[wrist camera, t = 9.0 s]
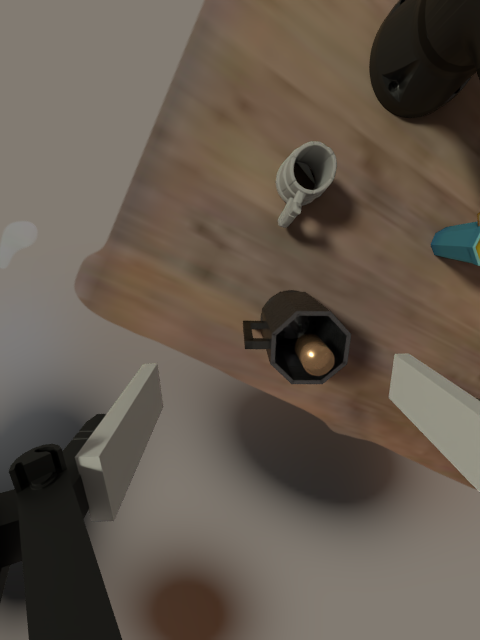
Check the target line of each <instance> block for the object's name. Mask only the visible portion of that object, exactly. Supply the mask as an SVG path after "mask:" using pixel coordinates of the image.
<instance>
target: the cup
mask: <svg viewBox="0 0 480 640" xmlns="http://www.w3.org/2000/svg"><path fill="white" fill-rule="evenodd" d="M477 217H478V222H472V223H467V224H461V225H455V226H450V227H446V228H444V229H442V230H440V231H439V232H437V233H435V236H434V238H433V240H432V243H431V247H432V250H433V253H434V255H437V256H441V257H444V258H449V259H454V260H459V261H463V262H468V263H473V264H474V265H478V266H480V212H479V213H478V214H477Z"/></svg>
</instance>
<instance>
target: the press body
mask: <svg viewBox="0 0 480 640" xmlns="http://www.w3.org/2000/svg"><path fill="white" fill-rule="evenodd" d="M297 316H309V326H308V329H307V331H306V332H305V333H304V334H308V333H311V334H315V335H317V336H318V337H319V338H320V339H321V340H322V341H323V342H324V344H325V345H326V346H327V347H328V348H329V349H330V351H331V352H332V353H333V355H334V365H333V367H332V369H331V370H330V371H329V372H328V373H326V374H324V375H320V376H314V375H311V374H309V373H308V372H306V370H305V369H304V367H303V365H302V363H301V361H300V360H299V358H298V356H297V354H296V352H295V343H296V341H297V339H298V338H294V339H288V338H284V337H282V336H281V335H280V334H279V332H281V331H282V330H283V329H284V328H285V327H286V326H287V325H288V324H289V323H291V322H292V321H293V320H294V319H295V318H296V317H297ZM251 329H261V333H262V336H263V338H253V336H252V330H251ZM243 332H244V343H245V349H266V350H267V354H268V357H269V361H270V364H271V365H272V366H273V367H274V368H275V369H276V370H277V371H278V372H279V373H280V374H282V375H283V376H284V377H285V378H286V379H287V380H288V381H289V382H290V383H291V384H323V383H324V382H326V381H327V380H328V379H329V378H331V377H332V376H333V375H334V374H336V373H337V372H338V371H339V370H340V369H342V368H343V367H344V366H345V365H347V361H348V354H349V346H350V339H351V333H350V332H349V331H348V330H347V329H346V328H345V327H344V326H343V324H342V323H341V322H340V321H339V320H338V319H337V318H336V317H335V316H334V315H333V314H332V312H331V311H329V310H328V309H327V308H326V307H324V306H323V305H322V304H320V303H319V302H318V301H316V300H315V299H314V298H312V297H311V296H310V295H308V294H307V293H306V292H299V291H294V290H288V291H283V292H279V293H278V294H276V295H274V296H273V297H272V298H270V299H269V300H268V301H267V303H266V304H265V306H264V307H263V308H262V313H261V321H243Z"/></svg>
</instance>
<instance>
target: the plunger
mask: <svg viewBox="0 0 480 640" xmlns="http://www.w3.org/2000/svg"><path fill="white" fill-rule="evenodd" d="M308 326H309V316H297V317H296V318H295V319H294V320H293V321H292V322H291V323H289V324H288V325H287V326H286V327H285V328H284V329H283V330H282V331H281V332H279V334H280V335H281V336H282V337H284V338H288V339H294V338H298V339H297V341H296V343H295V352H296V354H297V356H298V358H299V360H300V361H301V363H302V365H303V367H304V369H305V370H306V372H308V373H309V374H311V375H314V376H320V375H324V374H326V373H328V372H329V371H330V370H331V369H332V367H333V365H334V355H333V353H332V352H331V351H330V349H329V348H328V347H327V346H326V345H325V344H324V342H323V341H322V340H321V339H320V338H319V337H318V336H317V335H315V334H311V333H308V334H304V333H305V332H306V331H307V329H308Z"/></svg>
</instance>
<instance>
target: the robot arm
mask: <svg viewBox="0 0 480 640" xmlns="http://www.w3.org/2000/svg"><path fill="white" fill-rule="evenodd" d="M476 71H477V74H478V77H479V80H480V0H399V1H398V3H397V4H396V5H395V6H394V7H393V9H392V10H391V11H390V13H389V14H388V16H387V17H386V19H385V20H384V22H383V23H382V25H381V26H380V28H379V30H378V32H377V34H376V37H375V39H374V42H373V46H372V50H371V55H370V78H371V83H372V87H373V90H374V92H375V94H376V96H377V98H378V99H379V101H380V102H381V104H382V105H383V106H384V107H385V108H386V109H387V110H389V111H390V112H392V113H394V114H396V115H398V116H402V117H407V118H415V117H421V116H424V115H427V114H429V113H432V112H433V111H435V110H437V109H438V108H440V107H441V106H443V105H445V104H446V103H448V102H449V101H450V100H451V99H453V98H454V97H455V96H456V95H457V94H458V93H459V92H460V91H461V90H462V89H463V87H464V86H465V85H466V84H467V82H468V81H469V80H470V78H471V77H472V76H473V75H474V74H475V72H476ZM389 399H390V400H391V401H392V402H393V403H394V404H395V405H396V406H397V407H398V408H399V409H400V410H401V411H402V412H403V413H404V414H405V415H406V416H407V417H408V418H409V419H410V420H411V421H412V422H413V424H414V425H415V426H416V427H417V428H418V429H419V430H420V431H421V432H422V433H423V434H424V435H425V436H426V437H427V438H428V439H429V440H430V441H431V442H432V443H433V444H434V445H435V446H436V447H437V449H438V450H439V451H440V452H441V453H442V454H443V455H444V456H445V457H446V458H447V459H448V460H449V461H450V462H451V463H452V464H453V465H454V466H455V467H456V468H457V469H458V470H459V471H460V472H461V473H462V475H463V476H464V477H465V478H466V479H467V480H468V481H469V482H470V483H471V484H472V485H473V486H474V487H475V488H476V489H477V490H478V491H479V492H480V399H477V398H475V397H473V396H472V395H470V394H469V393H467V392H466V391H464V390H463V389H461V388H460V387H458V386H457V385H455V384H454V383H452V382H451V381H449V380H448V379H446V378H445V377H443V376H442V375H440V374H439V373H437V372H436V371H434V370H433V369H431V368H430V367H428V366H427V365H425V364H424V363H422V362H421V361H419V360H418V359H416V358H415V357H413V356H412V355H410V354H395V356H394V363H393V370H392V377H391V384H390V391H389ZM162 408H163V401H162V394H161V386H160V379H159V372H158V365H157V363H155V364H143V365H142V367H141V368H140V369H139V371H138V372H137V374H136V375H135V376H134V377H133V379H132V381H131V382H130V383H129V384H128V386H127V387H126V388H125V390H124V391H123V392H122V394H121V395H120V397H119V398H118V399H117V401H116V402H115V404H114V405H113V406H112V407H111V409H110V410H109V411H108V413H107V414H97V415H96V416H94V417H93V418H92V419H90V420H89V421H87V422H86V423H85V424H84V426H83V427H82V428H81V430H80V431H79V433H77V434H76V436H75V437H74V438H73V440H72V441H71V442H70V443H69V444H68V445H67V447H66V448H65V449H64V450H63V452H62V449H61V447H60V446H58V445H55V444H48V445H42V446H39V447H36V448H33V449H31V450H29V451H28V452H25V453H24V454H23V455H21V456H20V457H18V458H17V459H16V460H15V461H14V463H13V464H12V465H11V467H10V470H9V473H10V476H11V479H12V481H13V485H14V487H15V489H14V490H10V491H7V492H3V493H0V602H1V598H2V594H3V590H4V586H5V582H6V579H7V575H8V571H9V567H10V565H11V564H14V563H17V562H20V561H22V562H23V574H24V585H25V597H26V610H27V621H28V633H29V640H122V638H121V635H120V631H119V629H118V625H117V622H116V619H115V616H114V613H113V610H112V607H111V604H110V600H109V598H108V595H107V592H106V588H105V585H104V582H103V579H102V576H101V572H100V569H99V566H98V563H97V560H96V557H95V554H94V551H93V548H92V545H91V541H90V538H89V535H88V532H87V529H86V526H85V523H84V520H83V519H84V517H85V515H86V513H87V511H88V510H89V513H90V517H91V520H92V522H101V521H114V519H115V517H116V515H117V513H118V510H119V508H120V506H121V503H122V501H123V499H124V497H125V494H126V491H127V489H128V487H129V485H130V483H131V480H132V478H133V476H134V473H135V471H136V469H137V466H138V464H139V462H140V459H141V457H142V455H143V452H144V450H145V447H146V445H147V443H148V441H149V438H150V436H151V434H152V432H153V429H154V427H155V424H156V422H157V420H158V418H159V415H160V413H161V411H162Z"/></svg>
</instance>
